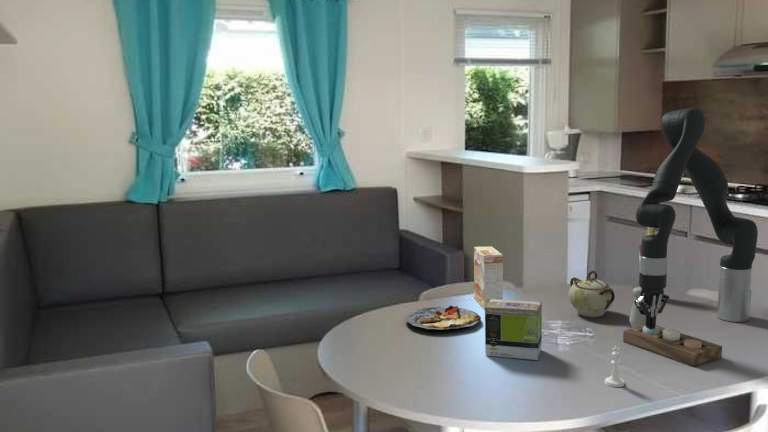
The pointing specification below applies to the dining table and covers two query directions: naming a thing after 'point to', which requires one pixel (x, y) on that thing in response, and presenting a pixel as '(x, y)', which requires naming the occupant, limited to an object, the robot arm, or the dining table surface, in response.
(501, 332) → the tea box
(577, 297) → the sugar bowl
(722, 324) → the dining table surface
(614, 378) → the chess piece
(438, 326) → the food plate
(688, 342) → the terracotta button
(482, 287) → the coffeecake box
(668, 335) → the cream button
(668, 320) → the dining table surface
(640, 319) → the salt shaker
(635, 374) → the dining table surface
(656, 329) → the slate button
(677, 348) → the wooden slotted tray
